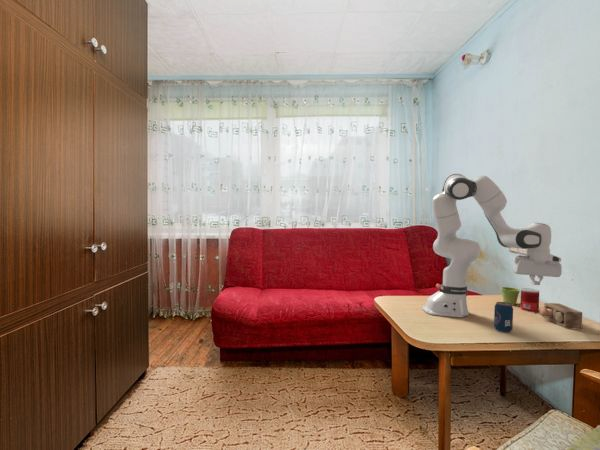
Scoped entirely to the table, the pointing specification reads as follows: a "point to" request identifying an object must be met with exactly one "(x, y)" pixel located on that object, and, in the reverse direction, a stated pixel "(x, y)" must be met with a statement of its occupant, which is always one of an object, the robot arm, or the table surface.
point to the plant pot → (510, 295)
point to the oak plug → (559, 316)
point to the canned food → (529, 299)
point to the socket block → (565, 316)
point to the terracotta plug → (546, 312)
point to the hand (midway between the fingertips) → (535, 284)
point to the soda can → (503, 317)
